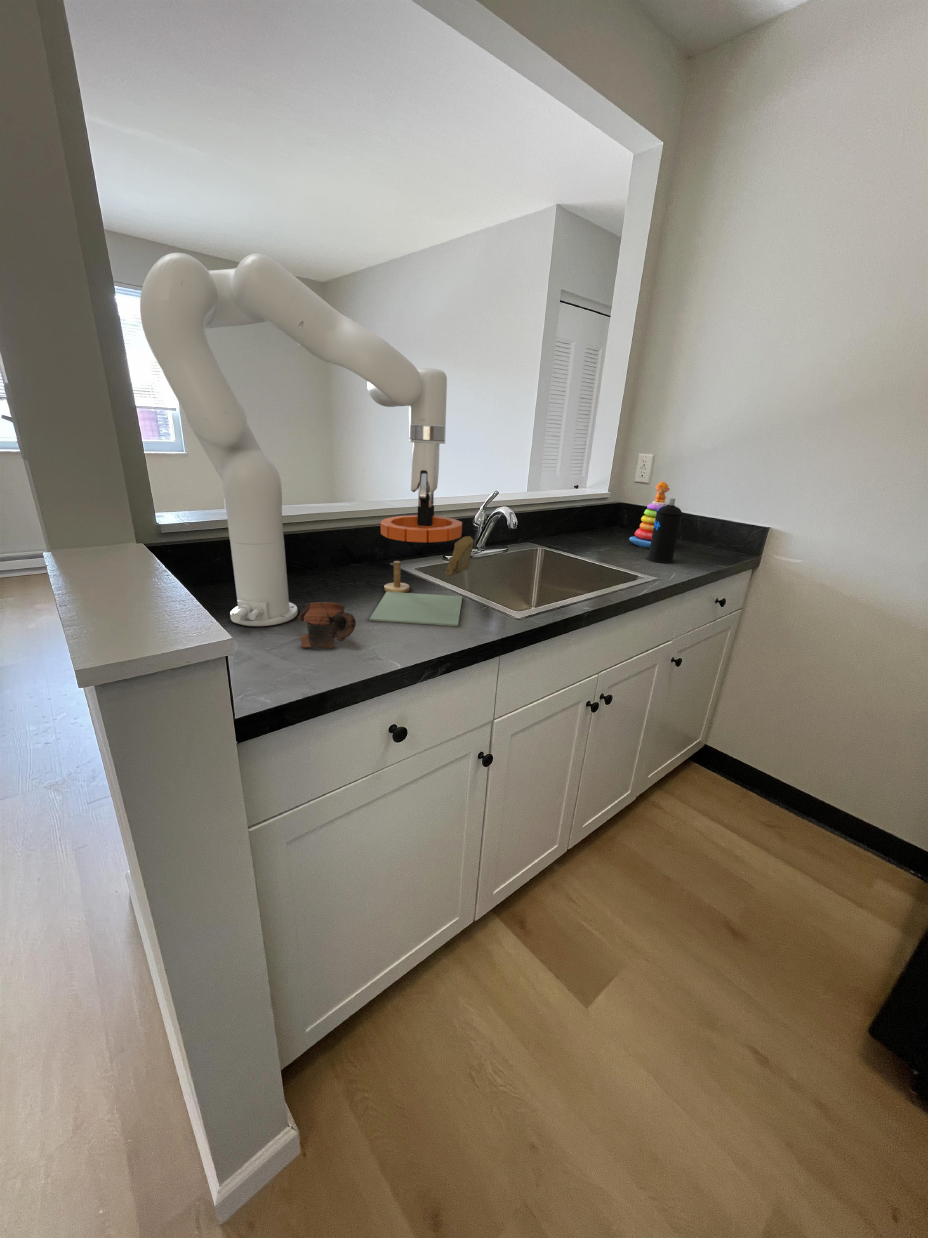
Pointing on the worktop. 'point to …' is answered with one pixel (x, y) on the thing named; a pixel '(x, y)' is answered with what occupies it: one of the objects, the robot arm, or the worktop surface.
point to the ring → (421, 529)
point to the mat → (418, 609)
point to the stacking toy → (650, 518)
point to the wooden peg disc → (397, 581)
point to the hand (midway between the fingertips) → (425, 523)
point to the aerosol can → (665, 533)
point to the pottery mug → (325, 624)
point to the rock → (460, 556)
